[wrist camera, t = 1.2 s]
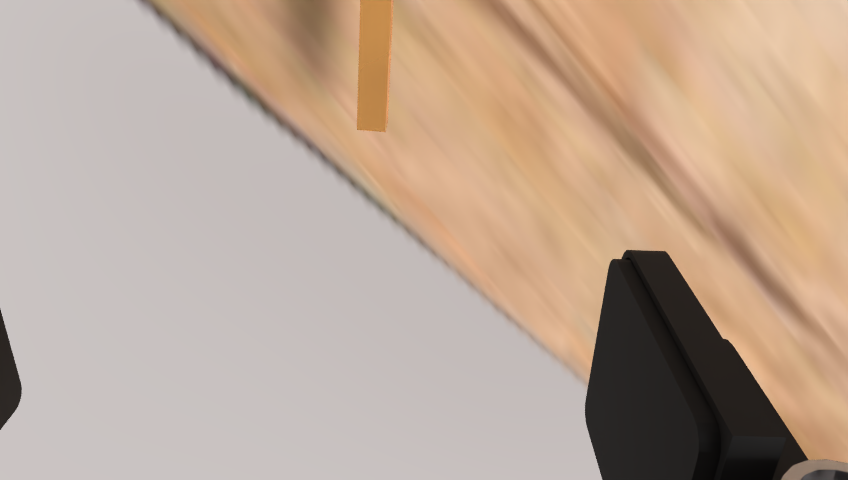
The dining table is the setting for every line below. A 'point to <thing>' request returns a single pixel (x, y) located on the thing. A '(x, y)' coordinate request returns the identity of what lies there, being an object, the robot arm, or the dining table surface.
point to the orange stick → (374, 64)
